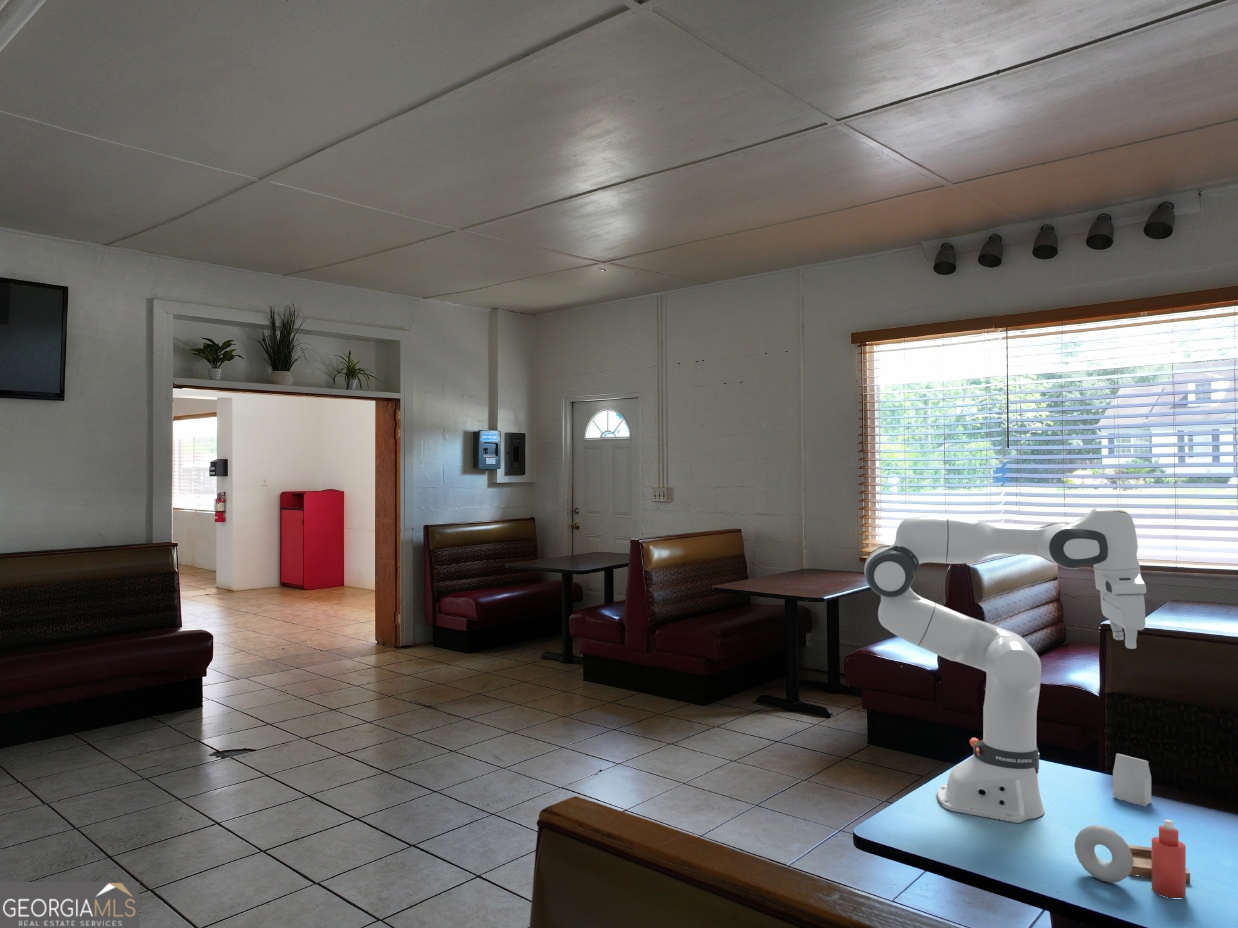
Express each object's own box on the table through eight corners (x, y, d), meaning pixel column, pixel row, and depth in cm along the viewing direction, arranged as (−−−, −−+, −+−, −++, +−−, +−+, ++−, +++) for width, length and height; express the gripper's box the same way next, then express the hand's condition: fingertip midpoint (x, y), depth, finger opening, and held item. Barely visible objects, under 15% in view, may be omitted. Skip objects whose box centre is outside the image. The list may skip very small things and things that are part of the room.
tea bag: (1144, 807, 190) (1144, 763, 190) (1112, 797, 196) (1112, 755, 196) (1151, 803, 193) (1151, 759, 193) (1119, 793, 198) (1119, 751, 198)
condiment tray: (1129, 875, 158) (1129, 865, 158) (1114, 852, 168) (1114, 843, 168) (1190, 883, 155) (1190, 873, 155) (1172, 859, 165) (1172, 850, 165)
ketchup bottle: (1156, 897, 150) (1156, 825, 150) (1147, 883, 155) (1147, 813, 155) (1189, 901, 149) (1190, 828, 149) (1179, 887, 154) (1180, 817, 154)
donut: (1136, 887, 154) (1136, 833, 154) (1128, 893, 151) (1129, 838, 151) (1078, 867, 161) (1079, 815, 161) (1071, 872, 159) (1071, 820, 159)
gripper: (1090, 575, 195) (1096, 635, 194) (1114, 587, 175) (1121, 653, 175) (1120, 574, 193) (1127, 634, 192) (1148, 586, 173) (1155, 652, 173)
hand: (1124, 643), depth 183 cm, fingers open, 8 cm apart
